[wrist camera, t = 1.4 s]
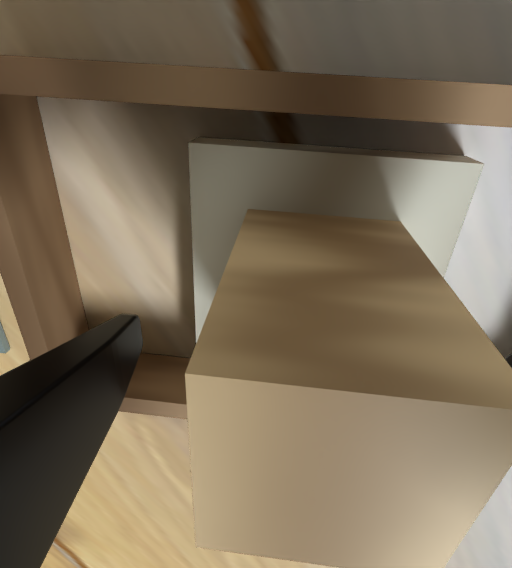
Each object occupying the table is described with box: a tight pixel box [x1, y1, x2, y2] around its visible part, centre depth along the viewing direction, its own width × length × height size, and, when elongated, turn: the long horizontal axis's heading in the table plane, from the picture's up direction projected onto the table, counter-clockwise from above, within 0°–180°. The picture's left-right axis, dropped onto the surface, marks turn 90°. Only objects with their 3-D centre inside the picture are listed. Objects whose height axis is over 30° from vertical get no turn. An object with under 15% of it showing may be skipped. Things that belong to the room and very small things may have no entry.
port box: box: [0, 55, 512, 419], centre depth 12 cm, size 20×12×2 cm, turn 88°
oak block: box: [185, 209, 512, 568], centre depth 9 cm, size 4×4×7 cm
